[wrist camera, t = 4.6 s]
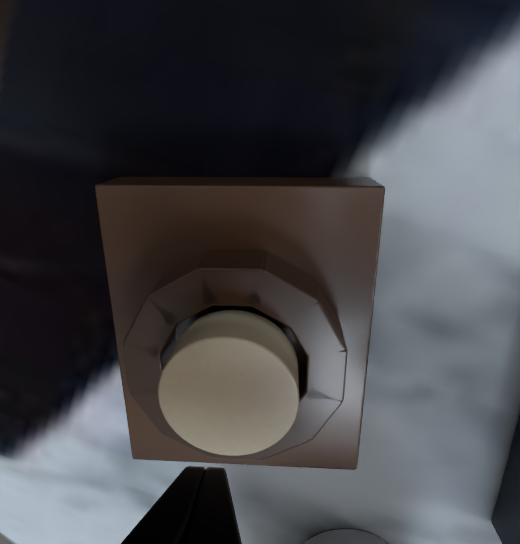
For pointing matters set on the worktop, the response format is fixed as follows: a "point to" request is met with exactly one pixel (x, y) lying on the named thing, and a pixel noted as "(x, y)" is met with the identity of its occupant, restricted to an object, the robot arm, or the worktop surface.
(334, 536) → the mug
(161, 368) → the switch block
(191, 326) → the button
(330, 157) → the worktop surface
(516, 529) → the dimmer panel
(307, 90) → the worktop surface
